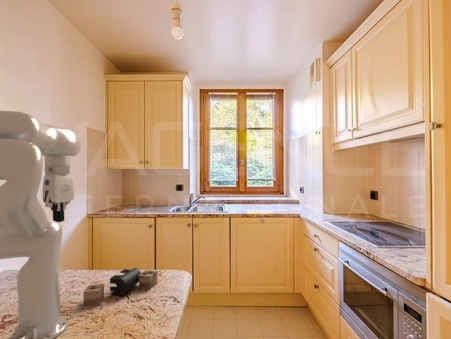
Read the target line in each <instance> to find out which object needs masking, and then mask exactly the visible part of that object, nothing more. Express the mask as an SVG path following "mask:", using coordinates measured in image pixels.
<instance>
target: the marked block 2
mask: <svg viewBox="0 0 451 339" xmlns="http://www.w3.org/2000/svg"><path fill="white" fill-rule="evenodd" d="M156 285H158V270H152V269H151V270H149V269H146V270H145V271H143V272H141V274H140V275H139V282H138V288H139V289H145V290H151V289H153V288H154V287H156Z"/></svg>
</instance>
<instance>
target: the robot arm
mask: <svg viewBox="0 0 451 339" xmlns="http://www.w3.org/2000/svg"><path fill="white" fill-rule="evenodd" d="M81 146H82V144H81V140H80V137H79V136H78V135H77V134H76V133H75V132H74V131H73V130H70V129H67V128H62V127H59V126H54V125H50V124H45V123H43V122H41V121H40V120H39V119H38V118H36V117H34V116H32V115H31V114H29V113H26V112H22V111H14V110H13V111H11V110H0V181H5V182H4V183H2V185H0V260H7V259H14V258H28V259H27V261H26V262H25V263H24V264H23V265H22V267H20V269H19V271H18V273H17V275H16V280H17V281H16V283H17V317H18V318H17V319H18V320H17V322H18V323H17V324H18V325H17V326H15V327H14V332H13V333H12V334H11V335H10V337H8V338H7V339H55V338H57V337H58V336H60V335H61V334H63V332H64V331H65V330H66V328H67V326H68V321H67V318H65V317H63V316H61V286H60V285H61V283H60V282H61V281H60V255H61V254H60V253H61V246H62V240H63V226H62V225H61V224H60V223H62V222H65V211H66V206H67V205H69V204H71V201H73V200H74V199H75V198H74V197H75V193H74V191H75V190H74V183H73V178H72V174H70V173H71V172H70V171H71V170H70V169H71V166H70V163H71V162H70V161H71V160H70V157H76V156H77V155H79V153H80V151H81ZM43 157H44V158H43ZM43 166H44V176H43ZM42 176H43V181H42ZM41 182H42V202H43V203H44V207H45V208H50V211H51V212H52V219H48V217H47V213H46V211H45V210H44V207H43V205H42V204H41V203H40V201H39V198H38V197H37V195H38V192H39V190H40V189H39V188H40V185H41Z"/></svg>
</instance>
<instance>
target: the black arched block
mask: <svg viewBox="0 0 451 339" xmlns="http://www.w3.org/2000/svg"><path fill="white" fill-rule="evenodd" d="M141 273H142V272H141V270H140V269H138V268H137V267H134V268H132V269H126V268H123V270H121V271H120V274H114V275H113V276H111V277H110V278H109V284H113V285H114V284H115V285H116V286H112V285H111V286H109V291H110V295H111V296H117V297H122V296H123V295H125V294H126V293H127V292H128V291H130V290H131V289H133V287H135V286H136V285H138V284H139V275H140V274H141Z"/></svg>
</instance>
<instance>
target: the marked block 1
mask: <svg viewBox="0 0 451 339" xmlns="http://www.w3.org/2000/svg"><path fill="white" fill-rule="evenodd" d="M82 293H83V294H82V295H83V307H85V308H86V307H94V306H100V305H101V304H102V303H103V300H104V299H105V283H99V284H98V283H97V284H89V285H88V286H87V287H86V288H85V290H83V292H82Z"/></svg>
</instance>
